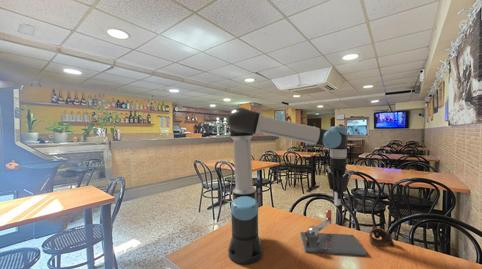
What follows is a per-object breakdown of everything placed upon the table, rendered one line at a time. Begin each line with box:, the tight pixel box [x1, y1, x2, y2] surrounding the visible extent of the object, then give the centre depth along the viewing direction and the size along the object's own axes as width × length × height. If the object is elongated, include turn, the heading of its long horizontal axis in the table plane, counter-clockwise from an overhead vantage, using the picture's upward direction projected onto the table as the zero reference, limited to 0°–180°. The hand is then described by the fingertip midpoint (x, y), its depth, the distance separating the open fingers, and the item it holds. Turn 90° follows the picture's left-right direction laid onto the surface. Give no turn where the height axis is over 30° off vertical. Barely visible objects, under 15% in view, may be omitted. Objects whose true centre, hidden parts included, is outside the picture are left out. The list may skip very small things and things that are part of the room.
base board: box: [300, 231, 367, 257], centre depth 96 cm, size 25×14×7 cm, turn 82°
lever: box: [304, 209, 332, 241], centre depth 101 cm, size 22×4×9 cm, turn 133°
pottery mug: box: [369, 225, 395, 247], centre depth 97 cm, size 12×10×8 cm
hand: (337, 204), depth 103 cm, fingers closed
